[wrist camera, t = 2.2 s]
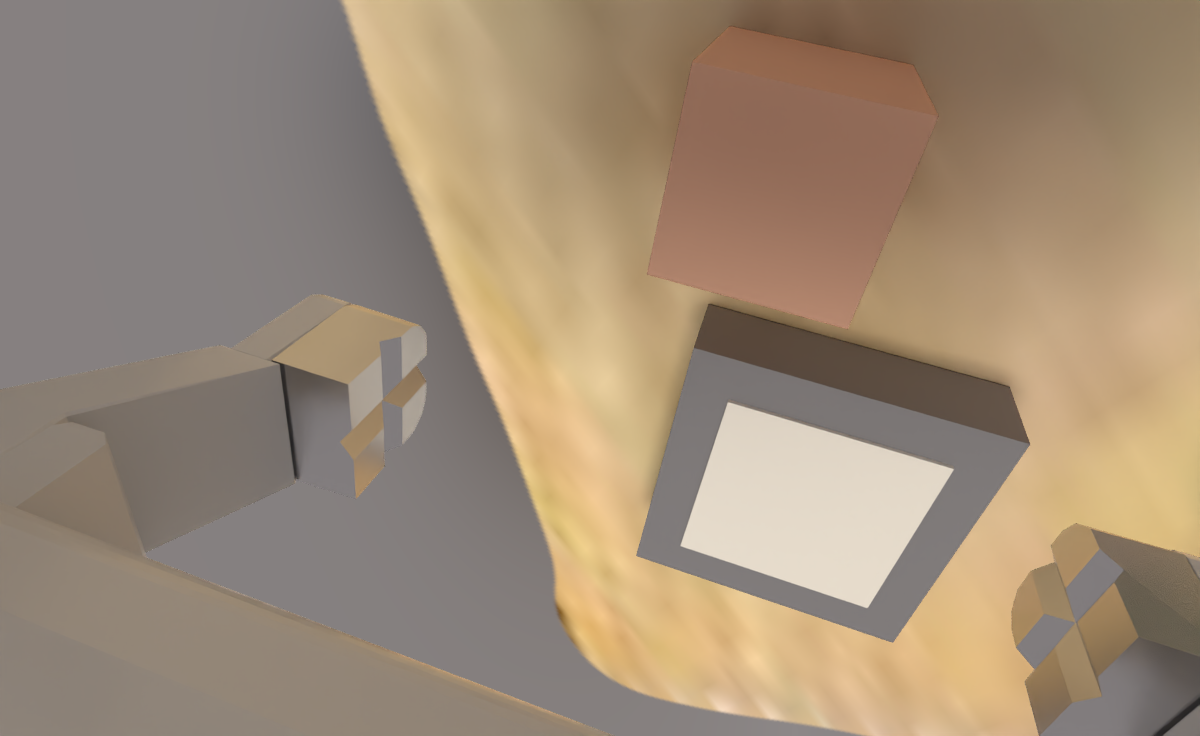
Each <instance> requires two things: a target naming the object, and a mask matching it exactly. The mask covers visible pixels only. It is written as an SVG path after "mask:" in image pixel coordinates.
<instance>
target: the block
mask: <svg viewBox="0 0 1200 736" xmlns="http://www.w3.org/2000/svg"><path fill="white" fill-rule="evenodd" d="M938 117H939V116H938V114H937V112H936V110H935V108H934V106H933V104H932V102H931V100H930V98H929V96H928V94H927V91H926V89H925V87H924V85H923V83H922V81H921V79H920V77H919V75H918V73H917V71H916V69H915V67H914V65H912V64H907V63H902V62H897V61H893V60H888V59H883V58H879V57H874V56H869V55H864V54H860V53H855V52H850V51H846V50H841V49H836V48H831V47H827V46H822V45H817V44H813V43H808V42H803V41H798V40H794V39H789V38H784V37H780V36H775V35H770V34H766V33H761V32H756V31H751V30H747V29H742V28H737V27H733V26H729V27H728V28H727V29H726V30H725V31H724V32H723V33H722V34H721V35H720V36H719V37H718V38H717V39H716V40H715V41H714V42H712V43H711V44H710V45H709V46H708V47H707V48H706V49H705V50H704V51H703V52H702V53H701V54H700V55H699V56H698V57H697V58H695V59H694V60H693V61H692V65H691V69H690V74H689V79H688V84H687V88H686V93H685V98H684V102H683V107H682V112H681V117H680V121H679V126H678V131H677V135H676V140H675V145H674V150H673V154H672V159H671V164H670V168H669V173H668V178H667V182H666V187H665V192H664V197H663V201H662V206H661V211H660V215H659V220H658V225H657V230H656V234H655V239H654V244H653V248H652V253H651V258H650V263H649V267H648V272H647V275H651V276H655V277H658V278H662V279H666V280H669V281H673V282H677V283H680V284H684V285H688V286H691V287H695V288H698V289H702V290H706V291H709V292H713V293H717V294H720V295H724V296H728V297H731V298H735V299H739V300H742V301H746V302H750V303H753V304H757V305H761V306H764V307H768V308H772V309H775V310H779V311H783V312H786V313H790V314H794V315H797V316H801V317H804V318H808V319H812V320H815V321H819V322H823V323H826V324H830V325H834V326H837V327H841V328H845V329H848V328H849V325H850V323H851V321H852V318H853V316H854V314H855V311H856V309H857V307H858V304H859V302H860V300H861V297H862V295H863V293H864V290H865V288H866V286H867V283H868V281H869V279H870V276H871V274H872V272H873V269H874V267H875V265H876V262H877V260H878V257H879V255H880V253H881V250H882V248H883V246H884V243H885V241H886V239H887V236H888V234H889V232H890V229H891V227H892V225H893V222H894V220H895V218H896V215H897V213H898V211H899V208H900V206H901V204H902V201H903V199H904V197H905V194H906V192H907V190H908V187H909V185H910V183H911V180H912V178H913V176H914V173H915V171H916V169H917V166H918V164H919V162H920V159H921V157H922V155H923V152H924V150H925V147H926V145H927V143H928V140H929V138H930V136H931V133H932V131H933V129H934V126H935V124H936V122H937V119H938Z"/></svg>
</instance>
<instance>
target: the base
mask: <svg viewBox="0 0 1200 736" xmlns="http://www.w3.org/2000/svg"><path fill="white" fill-rule="evenodd" d="M1029 445H1030V442H1029V440H1028V437H1027V434H1026V431H1025V429H1024V426H1023V423H1022V420H1021V417H1020V415H1019V412H1018V409H1017V406H1016V404H1015V401H1014V398H1013V395H1012V392H1011V390H1010V387H1007V386H1003V385H1000V384H996V383H993V382H989V381H985V380H982V379H978V378H974V377H971V376H967V375H964V374H960V373H956V372H953V371H949V370H945V369H942V368H938V367H935V366H931V365H927V364H924V363H920V362H916V361H913V360H909V359H906V358H902V357H898V356H895V355H891V354H887V353H884V352H880V351H877V350H873V349H869V348H866V347H862V346H858V345H855V344H851V343H848V342H844V341H840V340H837V339H833V338H829V337H826V336H822V335H819V334H815V333H811V332H808V331H804V330H800V329H797V328H793V327H790V326H786V325H782V324H779V323H775V322H772V321H768V320H764V319H761V318H757V317H753V316H750V315H746V314H743V313H739V312H735V311H732V310H728V309H724V308H721V307H717V306H714V305H710V304H709V305H708V308H707V311H706V314H705V317H704V320H703V323H702V325H701V328H700V331H699V334H698V337H697V340H696V343H695V346H694V349H693V352H692V356H691V360H690V363H689V367H688V370H687V374H686V378H685V381H684V385H683V389H682V392H681V396H680V399H679V403H678V407H677V410H676V414H675V417H674V421H673V425H672V428H671V432H670V436H669V439H668V443H667V446H666V450H665V454H664V457H663V461H662V464H661V468H660V472H659V475H658V479H657V483H656V486H655V490H654V493H653V497H652V501H651V504H650V508H649V511H648V515H647V519H646V522H645V526H644V529H643V533H642V537H641V540H640V544H639V548H638V551H637V555H636V556H638V557H641V558H644V559H647V560H650V561H653V562H656V563H659V564H662V565H665V566H668V567H671V568H674V569H677V570H680V571H682V572H685V573H688V574H691V575H694V576H697V577H700V578H703V579H706V580H709V581H712V582H715V583H718V584H721V585H724V586H727V587H730V588H733V589H736V590H739V591H742V592H745V593H748V594H750V595H753V596H756V597H759V598H762V599H765V600H768V601H771V602H774V603H777V604H780V605H783V606H786V607H789V608H792V609H795V610H798V611H801V612H804V613H807V614H810V615H813V616H816V617H818V618H821V619H824V620H827V621H830V622H833V623H836V624H839V625H842V626H845V627H848V628H851V629H854V630H857V631H860V632H863V633H866V634H869V635H872V636H875V637H878V638H881V639H884V640H886V641H889V642H892V643H893V642H894V640H895V639H896V637H897V636H898V635H899V633H900V632H901V630H902V629H903V627H904V626H905V624H906V623H907V622H908V620H909V619H910V617H911V616H912V614H913V613H914V611H915V610H916V609H917V607H918V606H919V604H920V603H921V601H922V600H923V598H924V597H925V596H926V594H927V593H928V591H929V590H930V588H931V587H932V585H933V584H934V583H935V581H936V580H937V578H938V577H939V575H940V574H941V572H942V571H943V570H944V568H945V567H946V565H947V564H948V562H949V561H950V559H951V558H952V557H953V555H954V554H955V552H956V551H957V549H958V548H959V546H960V545H961V544H962V542H963V541H964V539H965V538H966V536H967V535H968V533H969V532H970V531H971V529H972V528H973V526H974V525H975V523H976V522H977V520H978V519H979V518H980V516H981V515H982V513H983V512H984V510H985V509H986V507H987V506H988V505H989V503H990V502H991V500H992V499H993V497H994V496H995V494H996V493H997V492H998V490H999V489H1000V487H1001V486H1002V484H1003V483H1004V481H1005V480H1006V479H1007V477H1008V476H1009V474H1010V473H1011V471H1012V470H1013V468H1014V467H1015V465H1016V464H1017V463H1018V461H1019V460H1020V458H1021V457H1022V455H1023V454H1024V452H1025V451H1026V450H1027V448H1028V447H1029Z"/></svg>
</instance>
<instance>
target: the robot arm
mask: <svg viewBox="0 0 1200 736" xmlns="http://www.w3.org/2000/svg"><path fill="white" fill-rule="evenodd" d="M426 347H427V346H426V332H425V331H424V330H423V328H422V327H421V326H420V325H417V324H414V323H411V322H408V321H405V320H402V319H399V318H396V317H392V316H389V315H386V314H383V313H380V312H377V311H373V310H370V309H368V308H364V307H362V306H358V305H353V304H351V303H349V302H346V301H342V300H339V299H336V298H332V297H329V296H325V295H310V296H309V297H307V298H306V299H304V300H303V301H301V302H300V303H299V304H297V305H295V306H294V307H293V308H291V309H289V310H288V311H286V312H285V313H284V314H282V315H280V316H279V317H277V318H276V319H274V320H273V321H271V322H270V323H268V324H267V325H265V326H264V327H262V328H261V329H259V330H258V331H256V332H255V333H253V334H252V335H250V336H249V337H247V338H246V339H244V340H243V341H242V342H240V343H238V344H237V345H235V346H234V347H232V348H228V347H224V346H221V345H219V346H213V347H208V348H204V349H198V350H193V351H188V352H184V353H178V354H173V355H168V356H163V357H159V358H154V359H149V360H144V361H138V362H133V363H128V364H124V365H118V366H113V367H109V368H104V369H98V370H93V371H88V372H83V373H78V374H74V375H68V376H64V377H59V378H54V379H49V380H44V381H39V382H34V383H29V384H24V385H19V386H14V387H9V388H4V389H0V736H614V735H611V734H609V733H606V732H603V731H601V730H598V729H595V728H593V727H590V726H587V725H585V724H582V723H580V722H577V721H574V720H572V719H569V718H567V717H564V716H561V715H559V714H556V713H554V712H551V711H548V710H546V709H543V708H540V707H538V706H535V705H532V704H530V703H527V702H525V701H522V700H519V699H517V698H514V697H512V696H509V695H506V694H504V693H501V692H498V691H496V690H493V689H490V688H488V687H485V686H482V685H480V684H477V683H475V682H472V681H470V680H467V679H464V678H462V677H459V676H456V675H454V674H451V673H448V672H446V671H443V670H441V669H438V668H435V667H433V666H430V665H428V664H425V663H422V662H420V661H417V660H414V659H412V658H409V657H407V656H404V655H401V654H399V653H396V652H393V651H391V650H388V649H385V648H383V647H380V646H378V645H375V644H372V643H370V642H367V641H365V640H362V639H359V638H357V637H354V636H351V635H349V634H346V633H343V632H341V631H338V630H336V629H333V628H330V627H328V626H325V625H322V624H320V623H317V622H314V621H312V620H309V619H307V618H304V617H301V616H298V615H296V614H293V613H291V612H288V611H285V610H283V609H280V608H278V607H275V606H272V605H270V604H267V603H264V602H262V601H259V600H257V599H254V598H251V597H249V596H246V595H243V594H241V593H238V592H236V591H233V590H230V589H228V588H225V587H222V586H220V585H217V584H215V583H212V582H209V581H207V580H204V579H201V578H199V577H196V576H193V575H191V574H188V573H186V572H183V571H181V570H178V569H175V568H172V567H170V566H167V565H164V564H162V563H160V562H157V561H154V560H152V559H149V558H147V556H146V554H145V553H146V552H148V551H150V550H152V549H154V548H156V547H158V546H161V545H163V544H165V543H167V542H169V541H172V540H174V539H176V538H178V537H180V536H182V535H185V534H187V533H189V532H191V531H193V530H196V529H198V528H200V527H202V526H204V525H206V524H209V523H211V522H213V521H215V520H217V519H219V518H222V517H223V516H226V515H228V514H230V513H232V512H235V511H237V510H239V509H241V508H243V507H246V506H248V505H250V504H252V503H254V502H256V501H258V500H261V499H263V498H265V497H267V496H269V495H271V494H274V493H276V492H278V491H280V490H282V489H285V488H287V487H289V486H291V485H293V484H295V480H297V481H300V482H303V483H306V484H310V485H313V486H316V487H319V488H322V489H325V490H329V491H332V492H335V493H338V494H341V495H345V496H347V497H351V498H354V499H356V498H357V497H358V496H359V495H360V494H361V493H362V491H363V490H364V489H365V488H366V487H367V486H368V485H369V484H370V482H371V481H372V480H373V479H374V478H375V477H376V475H377V474H378V473H379V472H380V471H381V470H382V469H383V467H384V466H385V465H384V464H385V463H384V452H385V451H387V450H390V449H393V448H396V447H399V446H401V445H403V444H404V443H405V441H406V440H407V439H408V438H409V436H410V435H411V434H412V433H413V432H414V430H415V428H416V425H417V423H418V421H419V419H420V417H421V415H422V412H423V408H424V403H425V398H426V380H425V378H424V377H423V375H422V374H421V372H420V370H419V369H418V367H417V364H418V363H419V362H420V361H421V360H422V359H423V358H424V357H425V356H426V354H427V350H426V349H427V348H426ZM1051 549H1052V553H1053V557H1054V561H1055V562H1054V563H1051V564H1048V565H1046V566H1043V567H1040V568H1037V569H1034V570H1032V571H1030V573H1029V574H1028V576H1027V577H1026V578H1025V580H1024V581H1023V583H1022V584H1021V586H1020V587H1019V588H1018V590H1017V593H1016V597H1015V601H1014V604H1013V608H1012V633H1013V637H1014V641H1015V645H1016V648H1017V649H1018V650H1019V652H1020V653H1021V654H1022V655H1023V656H1024V657H1025V659H1026V660H1027V661H1028V662H1029V663H1030V665H1031V666H1032V667H1033V668H1034V670H1033V672H1032V673H1031V674H1030V675H1029V677H1028V678H1027V679H1026V681H1025V685H1026V688H1027V692H1028V696H1029V700H1030V703H1031V707H1032V711H1033V715H1034V719H1035V722H1036V726H1037V730H1038V734H1039V736H1200V557H1197V556H1193V555H1190V554H1186V553H1182V552H1178V551H1175V550H1171V551H1170V550H1167V549H1163V548H1160V547H1157V546H1153V545H1150V544H1146V543H1143V542H1139V541H1136V540H1132V539H1129V538H1125V537H1122V536H1119V535H1115V534H1112V533H1108V532H1105V531H1101V530H1098V529H1094V528H1091V527H1088V526H1084V525H1081V524H1077V523H1075V524H1073V525H1072V526H1070V527H1068V528H1067V529H1065V530H1063V531H1062V532H1061V534H1060V535H1059V536H1058V537H1057V538H1056V540H1055V541H1054V542H1053V543H1052V545H1051Z"/></svg>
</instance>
